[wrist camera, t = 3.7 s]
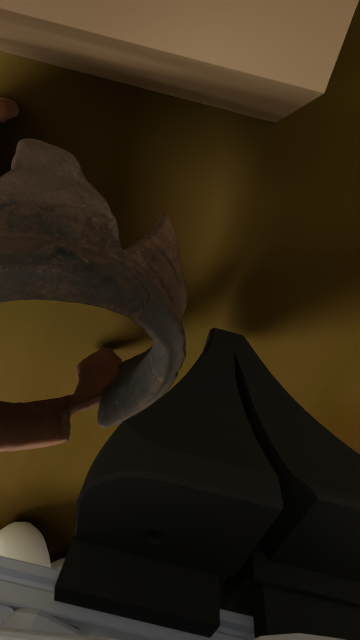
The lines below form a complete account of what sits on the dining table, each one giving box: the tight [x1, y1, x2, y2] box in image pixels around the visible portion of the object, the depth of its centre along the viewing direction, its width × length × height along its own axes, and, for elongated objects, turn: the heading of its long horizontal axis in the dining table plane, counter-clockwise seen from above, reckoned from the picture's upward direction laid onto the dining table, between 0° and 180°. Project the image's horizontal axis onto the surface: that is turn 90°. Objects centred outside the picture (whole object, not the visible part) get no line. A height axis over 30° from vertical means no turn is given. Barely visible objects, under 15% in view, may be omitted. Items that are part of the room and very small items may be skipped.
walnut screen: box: [0, 0, 359, 123], centre depth 6 cm, size 1×11×4 cm, turn 78°
